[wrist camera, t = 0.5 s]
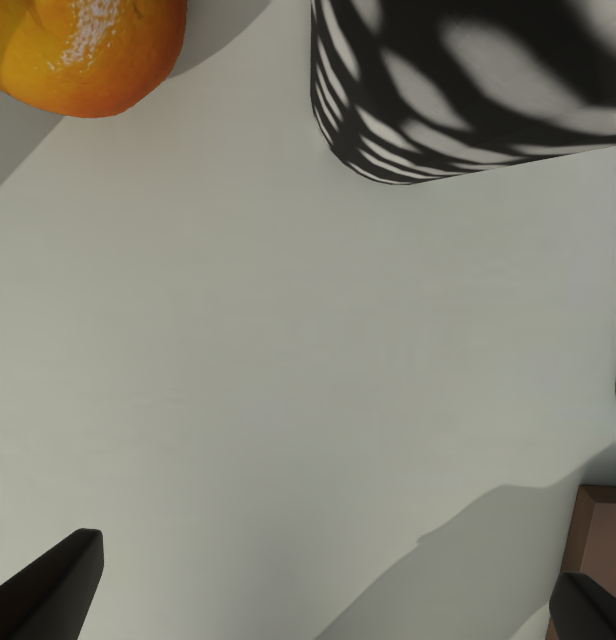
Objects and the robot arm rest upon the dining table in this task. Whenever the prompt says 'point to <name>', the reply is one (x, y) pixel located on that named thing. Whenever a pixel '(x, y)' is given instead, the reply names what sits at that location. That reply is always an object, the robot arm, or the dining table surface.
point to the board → (592, 540)
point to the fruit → (88, 52)
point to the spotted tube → (461, 83)
